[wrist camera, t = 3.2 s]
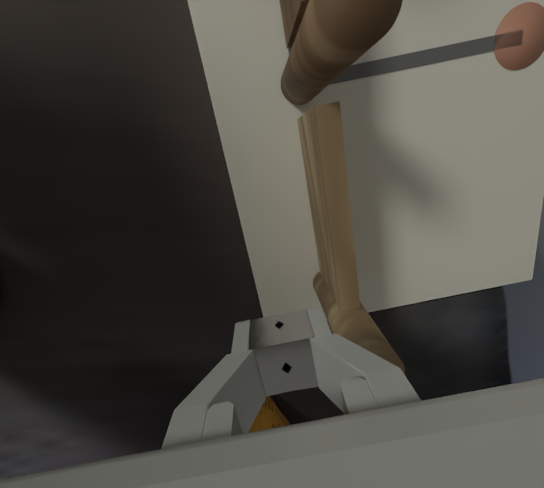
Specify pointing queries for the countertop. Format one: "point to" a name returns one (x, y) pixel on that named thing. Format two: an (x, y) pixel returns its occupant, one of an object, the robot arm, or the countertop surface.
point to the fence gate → (336, 231)
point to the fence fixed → (329, 40)
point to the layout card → (389, 148)
